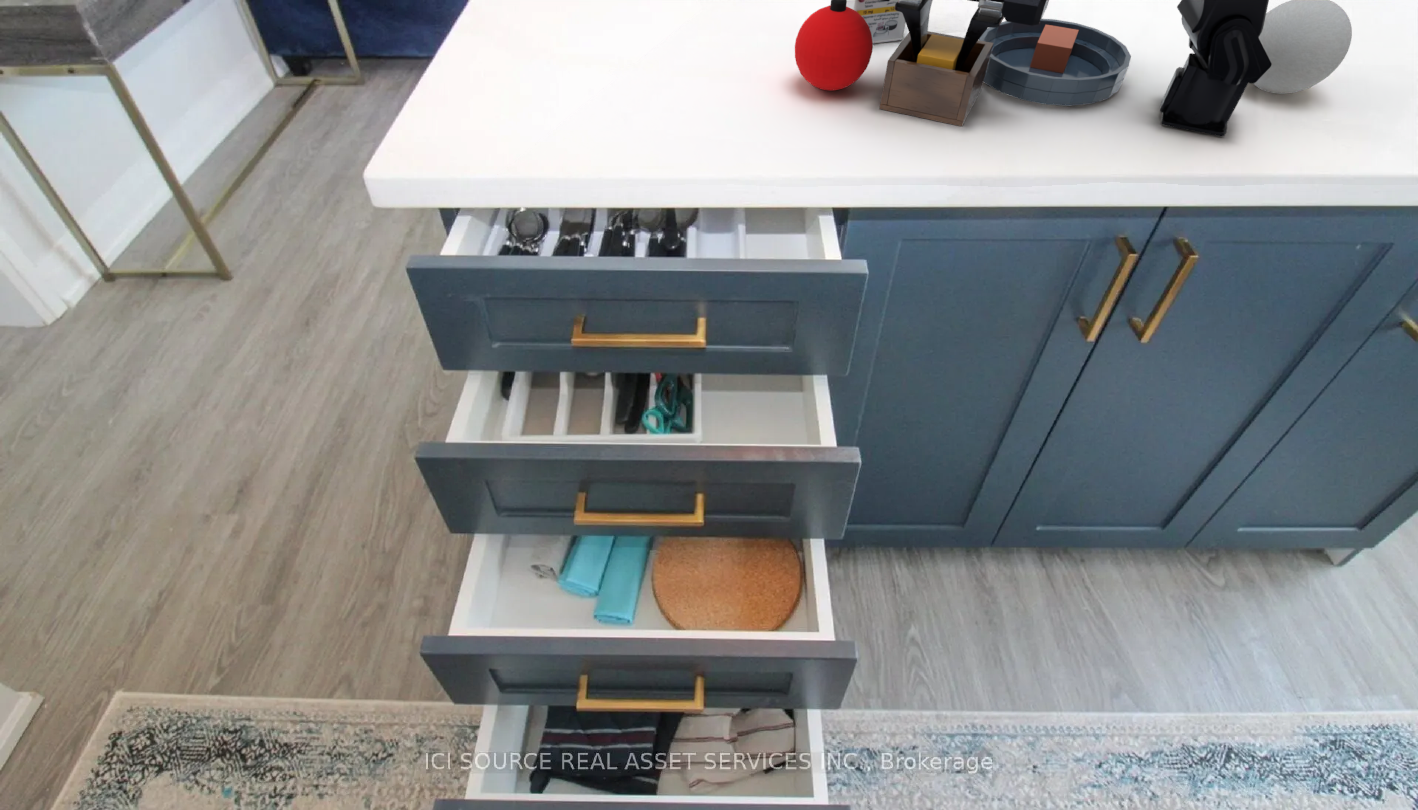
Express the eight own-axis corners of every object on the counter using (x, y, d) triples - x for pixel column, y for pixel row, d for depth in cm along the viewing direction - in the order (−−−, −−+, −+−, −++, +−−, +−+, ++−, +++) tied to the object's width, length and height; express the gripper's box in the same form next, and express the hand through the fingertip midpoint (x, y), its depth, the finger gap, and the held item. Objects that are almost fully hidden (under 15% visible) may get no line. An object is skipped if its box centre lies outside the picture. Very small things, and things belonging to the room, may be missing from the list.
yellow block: (960, 66, 88) (966, 40, 85) (947, 88, 84) (954, 61, 82) (926, 60, 89) (932, 33, 86) (912, 81, 85) (918, 54, 83)
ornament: (882, 90, 90) (897, 1, 83) (825, 111, 87) (836, 21, 79) (831, 63, 95) (842, -23, 88) (776, 83, 92) (782, -5, 84)
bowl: (1125, 61, 95) (1137, 33, 93) (1109, 122, 85) (1122, 91, 82) (988, 37, 100) (995, 9, 98) (958, 91, 90) (965, 62, 87)
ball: (1241, 63, 95) (1286, -24, 87) (1329, 88, 90) (1384, -1, 83) (1211, 89, 90) (1257, 0, 82) (1302, 118, 85) (1359, 26, 78)
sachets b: (1070, 54, 95) (1078, 29, 93) (1063, 73, 92) (1071, 48, 90) (1037, 48, 97) (1045, 24, 94) (1029, 67, 93) (1037, 42, 91)
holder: (980, 90, 90) (993, 42, 86) (962, 126, 84) (975, 77, 80) (902, 75, 93) (911, 28, 89) (879, 109, 87) (887, 60, 83)
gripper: (1082, -99, 76) (1034, 56, 88) (903, -120, 82) (880, 29, 94) (1066, -66, 70) (1016, 97, 81) (872, -92, 75) (851, 65, 87)
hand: (937, 69), depth 86 cm, fingers closed on yellow block, 4 cm apart
